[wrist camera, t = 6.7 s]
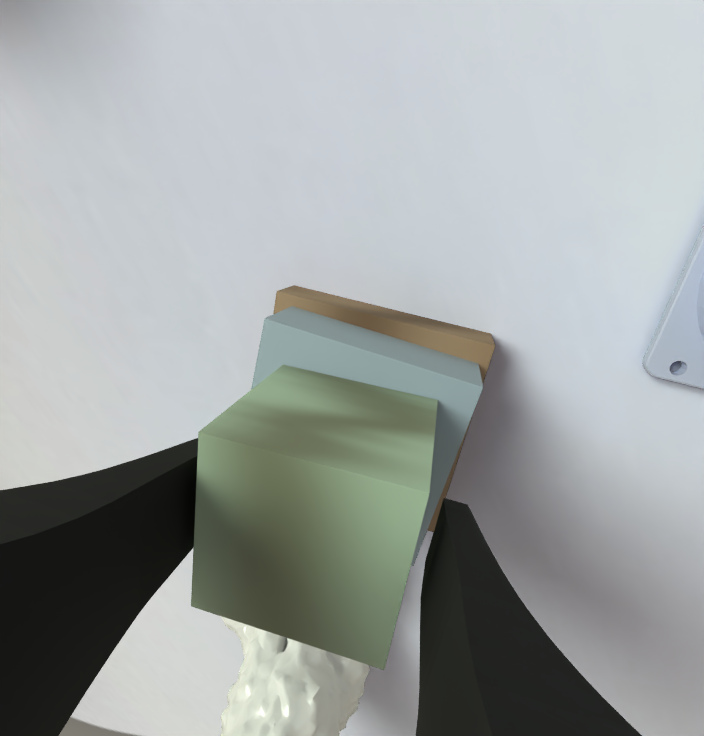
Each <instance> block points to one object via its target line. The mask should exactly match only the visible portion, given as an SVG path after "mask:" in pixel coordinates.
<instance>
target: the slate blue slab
mask: <svg viewBox="0 0 704 736" xmlns="http://www.w3.org/2000/svg"><path fill="white" fill-rule="evenodd" d="M282 365H287V366H292V367H296V368H301V369H305V370H309V371H314V372H318V373H322V374H327V375H331V376H335V377H340V378H344V379H349V380H353V381H357V382H362V383H366V384H370V385H375V386H379V387H384V388H388V389H392V390H397V391H401V392H405V393H410V394H414V395H419V396H423V397H427V398H432V399H436V400H438V403H437V415H436V426H435V437H434V448H433V459H432V471H431V482H430V493H429V497H428V501H427V505H426V508H425V512H424V516H423V520H422V524H421V528H420V532H419V536H418V540H417V543H416V547H415V551H414V555H413V559H412V563H411V565H412V566H413V565H414V563H415V560H416V558H417V555H418V552H419V550H420V547H421V545H422V542H423V540H424V537H425V535H426V532H427V530H428V527H429V524H430V522H431V519H432V517H433V514H434V512H435V509H436V507H437V504H438V501H439V499H440V496H441V494H442V491H443V489H444V486H445V484H446V481H447V478H448V476H449V473H450V471H451V468H452V466H453V463H454V461H455V458H456V455H457V453H458V450H459V448H460V445H461V443H462V440H463V438H464V435H465V432H466V430H467V427H468V425H469V422H470V420H471V417H472V415H473V412H474V409H475V407H476V404H477V402H478V399H479V397H480V394H481V392H482V389H483V384H482V379H481V374H480V369H479V364H478V363H475V362H472V361H469V360H466V359H462V358H459V357H456V356H453V355H449V354H446V353H443V352H440V351H436V350H433V349H430V348H427V347H423V346H420V345H417V344H414V343H410V342H407V341H404V340H401V339H397V338H394V337H391V336H388V335H384V334H381V333H378V332H375V331H371V330H368V329H365V328H362V327H358V326H355V325H352V324H349V323H345V322H342V321H339V320H336V319H332V318H329V317H326V316H323V315H319V314H316V313H313V312H310V311H306V310H303V309H300V308H297V307H293V306H291V307H289V308H287V309H284V310H282V311H280V312H278V313H276V314H273V315H271V316H269V317H267V318H265V320H264V325H263V331H262V336H261V341H260V346H259V352H258V357H257V362H256V368H255V373H254V378H253V383H252V389H253V388H254V387H256V386H257V385H258V384H259V383H261V382H262V381H263V380H264V379H266V378H267V377H268V376H269V375H271V374H272V373H273V372H274V371H276V370H277V369H278V368H279V367H281V366H282ZM252 389H251V390H252Z"/></svg>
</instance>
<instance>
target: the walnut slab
mask: <svg viewBox="0 0 704 736" xmlns="http://www.w3.org/2000/svg"><path fill="white" fill-rule="evenodd" d="M291 306H293V307H297V308H300V309H303V310H306V311H310V312H313V313H316V314H319V315H323V316H326V317H329V318H332V319H336V320H339V321H342V322H345V323H349V324H352V325H355V326H358V327H362V328H365V329H368V330H371V331H375V332H378V333H381V334H384V335H388V336H391V337H394V338H397V339H401V340H404V341H407V342H410V343H414V344H417V345H420V346H423V347H427V348H430V349H433V350H436V351H440V352H443V353H446V354H449V355H453V356H456V357H459V358H462V359H466V360H469V361H472V362H475V363H478V364H479V369H480V374H481V379H482V384H483V382H484V379H485V376H486V373H487V370H488V366H489V363H490V360H491V357H492V354H493V351H494V348H495V344H494V341H493V338H492V336H491V334H490V333H486V332H482V331H478V330H474V329H470V328H465V327H461V326H457V325H453V324H449V323H445V322H441V321H437V320H433V319H429V318H425V317H421V316H417V315H412V314H408V313H404V312H400V311H396V310H392V309H388V308H384V307H380V306H376V305H372V304H368V303H363V302H359V301H355V300H351V299H347V298H343V297H339V296H335V295H331V294H327V293H323V292H319V291H315V290H310V289H306V288H302V287H298V286H291V287H288V288H285V289H282V290H279V291H277V293H276V300H275V307H274V314H276V313H278V312H280V311H282V310H284V309H287V308H289V307H291ZM471 418H472V417H471ZM470 421H471V420H470ZM469 424H470V422H469ZM468 427H469V425H468ZM468 427H467V430H468ZM467 430H466V432H465V435H464V438H463V440H462V443H461V445H460V448H459V450H458V453H457V455H456V458H455V461H454V463H453V466H452V468H451V471H450V473H449V476H448V478H447V481H446V484H445V486H444V489H443V491H442V494H441V496H440V499H439V501H438V504H437V507H436V509H435V512H434V514H433V517H432V519H431V522H430V524H429V527H428V531H432V532H434V530H435V526H436V523H437V519H438V516H439V512H440V509H441V505H442V502H443V498H446V495H447V491H448V488H449V485H450V482H451V479H452V476H453V473H454V470H455V467H456V464H457V461H458V458H459V455H460V452H461V449H462V446H463V443H464V440H465V437H466V434H467Z"/></svg>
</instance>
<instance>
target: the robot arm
mask: <svg viewBox="0 0 704 736" xmlns="http://www.w3.org/2000/svg"><path fill="white" fill-rule="evenodd" d="M676 361H681V363H682V364H681V367H680V369H679V370H677V371H675V372H670V370H669V369H670V366H671V364H672V363H674V362H676ZM642 364H643V368H644V369H645V370H646V372H647V373H649V374H650V375H652V376H654V377H657V378H661V379H665V380H669V381H673V382H677V383H681V384H685V385H689V386H693V387H698V388H702V389H704V225H703V227H702V229H701V232H700V234H699V236H698V238H697V241H696V243H695V245H694V247H693V249H692V252H691V254H690V256H689V258H688V261H687V263H686V265H685V267H684V269H683V272H682V274H681V276H680V278H679V281H678V283H677V285H676V287H675V289H674V292H673V294H672V296H671V298H670V301H669V303H668V305H667V307H666V309H665V312H664V314H663V316H662V318H661V321H660V323H659V325H658V327H657V329H656V332H655V334H654V336H653V338H652V341H651V343H650V345H649V347H648V349H647V352H646V354H645V356H644V359H643V363H642ZM197 458H198V438H197V439H194V440H191V441H188V442H185V443H182V444H179V445H177V446H174V447H171V448H168V449H165V450H162V451H160V452H157V453H154V454H151V455H148V456H145V457H142V458H139V459H136V460H133V461H129V462H126V463H123V464H120V465H117V466H113V467H110V468H107V469H103V470H100V471H96V472H92V473H88V474H85V475H80V476H76V477H72V478H67V479H63V480H58V481H53V482H48V483H42V484H36V485H31V486H25V487H19V488H13V489H7V490H0V736H58V735H59V734H60V732H61V731H62V729H63V727H64V726H65V724H66V723H67V721H68V720H69V718H70V716H71V715H72V713H73V712H74V710H75V708H76V707H77V705H78V704H79V702H80V700H81V699H82V697H83V696H84V694H85V692H86V691H87V689H88V688H89V686H90V685H91V683H92V682H93V680H94V679H95V677H96V676H97V674H98V673H99V671H100V670H101V668H102V667H103V665H104V664H105V662H106V661H107V659H108V658H109V656H110V654H111V653H112V651H113V650H114V648H115V647H116V646H117V644H118V643H119V641H120V640H121V638H122V637H123V635H124V634H125V633H126V631H127V630H128V628H129V627H130V625H131V624H132V622H133V621H134V620H135V618H136V617H137V615H138V614H139V612H140V611H141V610H142V609H143V607H144V606H145V605H146V603H147V602H148V601H149V600H150V598H151V597H152V596H153V595H154V593H155V592H156V591H157V590H158V589H159V588H160V586H161V585H162V584H163V583H164V582H165V580H166V579H167V578H168V577H169V576H170V574H171V573H172V572H173V571H174V570H175V569H176V567H177V566H178V565H179V564H180V563H181V561H182V560H183V559H184V558H185V557H186V556H187V554H188V553H189V552H190V551H191V550H192V548H193V547H194V528H195V505H196V481H197ZM416 736H642V735H641V734H639V733H638V732H637V731H636V730H635V729H634V728H633V727H632V726H631V725H630V724H629V723H628V722H627V721H626V720H625V719H624V718H623V717H622V716H621V715H620V714H619V713H618V712H617V711H616V710H615V709H614V708H613V707H612V706H611V705H610V704H609V703H608V702H607V701H606V700H605V699H604V698H603V697H602V696H601V695H600V694H599V693H598V692H597V691H596V690H595V689H594V688H593V687H592V686H591V685H590V684H589V683H588V681H587V680H586V679H585V678H584V677H583V676H582V675H581V674H580V673H579V672H578V670H577V669H576V668H575V667H574V666H573V665H572V664H571V663H570V661H569V660H568V659H567V658H566V657H565V656H564V655H563V653H562V652H561V651H560V650H559V649H558V648H557V646H556V645H555V644H554V643H553V642H552V640H551V639H550V638H549V637H548V636H547V634H546V633H545V632H544V630H543V629H542V628H541V626H540V625H539V624H538V622H537V621H536V620H535V619H534V617H533V616H532V615H531V613H530V612H529V611H528V609H527V608H526V607H525V605H524V604H523V602H522V601H521V599H520V598H519V597H518V595H517V593H516V592H515V590H514V589H513V587H512V586H511V584H510V583H509V581H508V579H507V578H506V576H505V574H504V573H503V571H502V569H501V568H500V566H499V564H498V562H497V561H496V559H495V557H494V555H493V554H492V552H491V550H490V548H489V546H488V544H487V543H486V541H485V539H484V537H483V535H482V533H481V531H480V529H479V527H478V525H477V523H476V521H475V519H474V516H473V514H472V512H471V510H470V508H469V507H468V505H467V504H463V503H460V502H456V501H452V500H449V499H445V498H443V502H442V505H441V509H440V512H439V516H438V519H437V523H436V526H435V530H434V533H433V537H432V540H431V544H430V547H429V551H428V554H427V557H426V561H425V569H424V576H423V584H422V592H421V613H420V689H419V709H418V720H417V730H416Z"/></svg>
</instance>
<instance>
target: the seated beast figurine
mask: <svg viewBox="0 0 704 736" xmlns="http://www.w3.org/2000/svg"><path fill="white" fill-rule="evenodd" d="M221 618H222V619H223V620H224V623H225V625H226V626H227V627H228V628H229V629H231V630H233V631H235V633H236V634H237V636H238V637H239V638H240V640H241V644H242V649H243V653H244V656H245V658H244V661H243V664H242V666H241V668H240V672H239V674H238V681H237V682H236V683H235V684H233V685H232V686H231V688H230V690H229V693H228V697H227V698H228V707H227V708H226V709H225V710H224V711H223V713H222V716H221V721H222V734H221V735H220V736H339V734H340V733H339V731H341V730H342V729H344V728H346V723H347V721H348V719H349V717H350V716H351V715H352V714H353V713H354V712H355V711H356V710H357V709H358V704H359V698H360V697H361V696H362V695H363V693H364V683H365V679H366V677H367V675H368V674H369V672H370V669H369V665H367V664H364V663H361V662H358V661H355V660H352V659H349V658H346V657H343V656H340V655H337V654H334V653H331V652H328V651H325V650H322V649H319V648H316V647H313V646H310V645H307V644H304V643H301V642H298V641H295V640H292V639H289V638H286V637H283V636H280V635H276V634H273V633H270V632H267V631H264V630H261V629H258V628H255V627H252V626H249V625H246V624H243V623H240V622H237V621H234V620H231V619H228V618H225V617H222V616H221Z"/></svg>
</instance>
